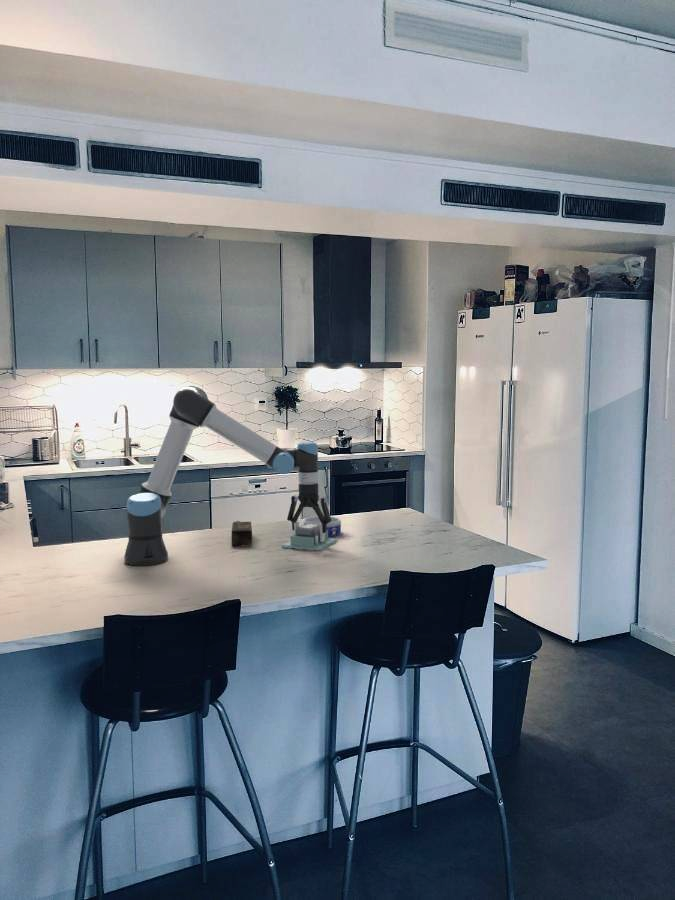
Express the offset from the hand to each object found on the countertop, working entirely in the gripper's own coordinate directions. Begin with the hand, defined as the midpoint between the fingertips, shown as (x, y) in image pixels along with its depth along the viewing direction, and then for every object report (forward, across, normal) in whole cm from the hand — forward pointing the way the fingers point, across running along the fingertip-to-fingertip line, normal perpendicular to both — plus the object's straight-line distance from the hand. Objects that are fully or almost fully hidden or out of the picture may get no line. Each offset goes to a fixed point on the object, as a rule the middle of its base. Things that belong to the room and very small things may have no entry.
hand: (309, 539), depth 278 cm
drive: (+1, 0, 0) cm, 1 cm away
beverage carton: (+2, -28, -3) cm, 28 cm away
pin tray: (+2, 0, 0) cm, 2 cm away
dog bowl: (+2, -3, +19) cm, 19 cm away
